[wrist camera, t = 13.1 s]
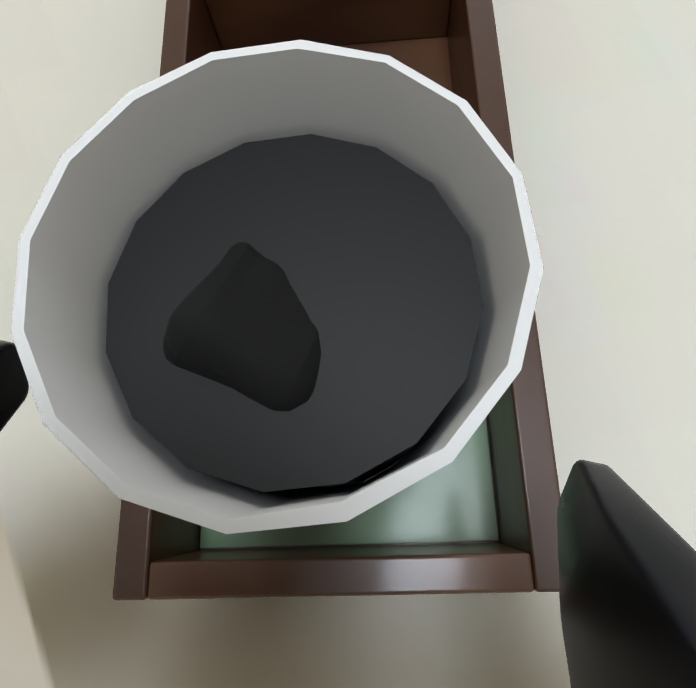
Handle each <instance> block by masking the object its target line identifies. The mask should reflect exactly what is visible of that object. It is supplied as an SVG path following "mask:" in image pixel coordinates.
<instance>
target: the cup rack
mask: <svg viewBox="0 0 696 688" xmlns="http://www.w3.org/2000/svg"><path fill="white" fill-rule="evenodd" d="M294 40H306V41H311V42H317V43H322V44H328V45H333V46H339V47H344V48H350V49H355V50H361V51H366V52H372V53H378V54H383V55H389V56H391V57H393V58H394V59H396V60H398V61H399V62H401V63H403V64H404V65H406V66H408V67H410V68H411V69H413V70H415V71H416V72H418V73H420V74H422V75H423V76H425V77H427V78H428V79H430V80H432V81H434V82H435V83H437V84H439V85H440V86H442V87H444V88H445V89H447V90H449V91H451V92H452V93H454V94H456V95H457V96H459V97H461V98H463V99H464V100H466V101H467V102H468V103H469V105H470V106H471V107H472V108H473V110H474V111H475V112H476V114H477V115H478V116H479V118H480V119H481V120H482V122H483V123H484V124H485V125H486V127H487V128H488V129H489V131H490V132H491V133H492V135H493V136H494V137H495V139H496V140H497V141H498V143H499V144H500V145H501V146H502V148H503V149H504V150H505V152H506V153H507V154H508V156H509V157H510V158H511V160H512V161H513V162H514V156H513V149H512V142H511V135H510V127H509V120H508V113H507V106H506V98H505V91H504V84H503V76H502V69H501V62H500V55H499V47H498V40H497V33H496V26H495V18H494V11H493V4H492V0H167V1H166V12H165V23H164V35H163V46H162V57H161V68H160V76H162V75H165V74H167V73H169V72H171V71H173V70H175V69H177V68H179V67H181V66H183V65H185V64H187V63H190V62H192V61H194V60H196V59H198V58H200V57H202V56H204V55H206V54H208V53H210V52H216V51H223V50H230V49H238V48H245V47H252V46H259V45H266V44H273V43H280V42H287V41H294ZM559 500H560V491H559V483H558V476H557V469H556V462H555V454H554V447H553V440H552V433H551V425H550V418H549V411H548V403H547V396H546V389H545V382H544V374H543V367H542V360H541V353H540V345H539V338H538V331H537V324H536V316H535V310H534V314H533V319H532V323H531V328H530V332H529V337H528V341H527V346H526V351H525V355H524V360H523V364H522V369H521V371H520V372H519V374H518V375H517V376H516V378H515V379H514V380H513V382H512V383H511V384H510V386H509V387H508V388H507V390H506V391H505V392H504V394H503V395H502V396H501V398H500V399H499V400H498V402H497V403H496V404H495V406H494V407H493V408H492V410H491V411H490V412H489V414H488V415H487V416H486V418H485V419H484V420H483V422H482V423H481V424H480V426H479V427H478V428H477V430H476V431H475V432H474V434H473V435H472V436H471V438H470V439H469V440H468V442H467V443H466V444H465V446H464V447H463V448H462V450H461V451H460V452H459V454H458V455H457V456H456V458H455V459H454V460H453V462H451V463H449V464H448V465H446V466H444V467H442V468H441V469H439V470H437V471H435V472H434V473H432V474H430V475H428V476H426V477H425V478H423V479H421V480H419V481H418V482H416V483H414V484H412V485H411V486H409V487H407V488H405V489H403V490H402V491H400V492H398V493H396V494H395V495H393V496H391V497H389V498H388V499H386V500H384V501H382V502H381V503H379V504H377V505H375V506H373V507H372V508H370V509H368V510H366V511H365V512H363V513H361V514H359V515H358V516H356V517H354V518H352V519H350V520H349V521H347V522H338V523H329V524H319V525H310V526H300V527H290V528H281V529H271V530H262V531H252V532H243V533H233V534H224V533H221V532H218V531H215V530H212V529H209V528H206V527H203V526H200V525H197V524H194V523H191V522H188V521H185V520H183V519H180V518H177V517H174V516H171V515H168V514H165V513H162V512H159V511H156V510H153V509H150V508H147V507H144V506H141V505H138V504H135V503H132V502H129V501H126V500H123V499H122V500H121V511H120V522H119V534H118V545H117V556H116V567H115V578H114V589H113V599H115V600H144V599H147V598H149V599H151V600H162V599H212V598H262V597H312V596H363V595H413V594H463V593H513V592H532V591H534V590H535V591H537V592H559V565H558V536H557V509H558V503H559Z"/></svg>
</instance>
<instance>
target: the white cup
mask: <svg viewBox="0 0 696 688" xmlns="http://www.w3.org/2000/svg"><path fill="white" fill-rule="evenodd" d="M543 268H544V267H543V263H542V258H541V254H540V250H539V245H538V241H537V236H536V232H535V228H534V223H533V219H532V214H531V210H530V206H529V201H528V197H527V193H526V188H525V184H524V179H523V175H522V173H521V171H520V170H519V169H518V167H517V166H516V165H515V164H514V162H513V161H512V160H511V158H510V157H509V156H508V154H507V153H506V152H505V150H504V149H503V148H502V146H501V145H500V144H499V143H498V141H497V140H496V139H495V137H494V136H493V135H492V133H491V132H490V131H489V129H488V128H487V127H486V125H485V124H484V123H483V122H482V120H481V119H480V118H479V116H478V115H477V114H476V112H475V111H474V110H473V108H472V107H471V106H470V105H469V103H468V102H467V101H466V100H464V99H463V98H461V97H459V96H457V95H456V94H454V93H452V92H451V91H449V90H447V89H445V88H444V87H442V86H440V85H439V84H437V83H435V82H434V81H432V80H430V79H428V78H427V77H425V76H423V75H422V74H420V73H418V72H416V71H415V70H413V69H411V68H410V67H408V66H406V65H404V64H403V63H401V62H399V61H398V60H396V59H394V58H393V57H391V56H389V55H383V54H378V53H372V52H366V51H361V50H355V49H350V48H344V47H339V46H333V45H328V44H322V43H317V42H311V41H306V40H294V41H287V42H280V43H273V44H266V45H259V46H252V47H245V48H238V49H230V50H223V51H216V52H210V53H208V54H206V55H204V56H202V57H200V58H198V59H196V60H194V61H192V62H190V63H187V64H185V65H183V66H181V67H179V68H177V69H175V70H173V71H171V72H169V73H167V74H165V75H162V76H160V77H158V78H156V79H154V80H152V81H150V82H148V83H146V84H144V85H142V86H140V87H137V88H135V89H133V90H131V91H129V92H128V93H127V94H126V95H124V96H123V97H122V98H121V99H120V100H119V101H118V102H117V103H116V104H115V105H114V106H113V107H112V108H111V109H110V110H109V111H108V112H107V113H106V114H105V115H103V116H102V117H101V118H100V119H99V120H98V121H97V122H96V123H95V124H94V125H93V126H92V127H91V128H90V129H89V130H88V131H87V132H86V133H85V134H84V135H82V136H81V137H80V138H79V139H78V140H77V141H76V142H75V143H74V144H73V145H72V146H71V147H70V148H69V149H68V150H67V151H66V152H65V153H64V154H63V155H61V157H60V159H59V161H58V163H57V165H56V167H55V169H54V171H53V173H52V175H51V177H50V179H49V181H48V183H47V185H46V187H45V189H44V191H43V193H42V195H41V197H40V199H39V201H38V202H37V204H36V206H35V208H34V210H33V212H32V214H31V216H30V218H29V220H28V222H27V224H26V226H25V228H24V230H23V232H22V234H21V236H20V238H19V246H18V257H17V268H16V280H15V291H14V302H13V313H12V325H11V335H12V337H13V340H14V343H15V346H16V349H17V352H18V354H19V357H20V360H21V363H22V366H23V368H24V371H25V374H26V377H27V380H28V383H29V385H30V388H31V391H32V394H33V397H34V400H35V402H36V405H37V408H38V411H39V414H40V417H41V419H42V422H43V425H44V426H45V427H46V428H47V429H48V430H49V431H50V432H51V433H52V434H53V435H54V436H55V437H56V438H57V439H58V440H59V441H61V442H62V443H63V444H64V445H65V446H66V447H67V448H68V449H69V450H70V451H71V452H72V453H73V454H74V455H75V456H76V457H77V458H78V459H79V460H80V461H81V462H82V463H83V464H84V465H85V466H86V467H87V468H88V469H89V470H90V471H91V472H92V473H93V474H94V475H95V476H96V477H97V478H98V479H99V480H100V481H101V482H102V483H103V484H105V485H106V486H107V487H108V488H109V489H110V490H111V491H112V492H113V493H114V494H115V495H116V496H117V497H118V498H120V499H123V500H126V501H129V502H132V503H135V504H138V505H141V506H144V507H147V508H150V509H153V510H156V511H159V512H162V513H165V514H168V515H171V516H174V517H177V518H180V519H183V520H185V521H188V522H191V523H194V524H197V525H200V526H203V527H206V528H209V529H212V530H215V531H218V532H221V533H224V534H233V533H243V532H252V531H262V530H271V529H281V528H290V527H300V526H310V525H319V524H329V523H338V522H347V521H349V520H350V519H352V518H354V517H356V516H358V515H359V514H361V513H363V512H365V511H366V510H368V509H370V508H372V507H373V506H375V505H377V504H379V503H381V502H382V501H384V500H386V499H388V498H389V497H391V496H393V495H395V494H396V493H398V492H400V491H402V490H403V489H405V488H407V487H409V486H411V485H412V484H414V483H416V482H418V481H419V480H421V479H423V478H425V477H426V476H428V475H430V474H432V473H434V472H435V471H437V470H439V469H441V468H442V467H444V466H446V465H448V464H449V463H451V462H453V460H454V459H455V458H456V456H457V455H458V454H459V452H460V451H461V450H462V448H463V447H464V446H465V444H466V443H467V442H468V440H469V439H470V438H471V436H472V435H473V434H474V432H475V431H476V430H477V428H478V427H479V426H480V424H481V423H482V422H483V420H484V419H485V418H486V416H487V415H488V414H489V412H490V411H491V410H492V408H493V407H494V406H495V404H496V403H497V402H498V400H499V399H500V398H501V396H502V395H503V394H504V392H505V391H506V390H507V388H508V387H509V386H510V384H511V383H512V382H513V380H514V379H515V378H516V376H517V375H518V374H519V372H520V371H521V369H522V364H523V360H524V355H525V351H526V346H527V341H528V337H529V332H530V328H531V323H532V319H533V314H534V310H535V305H536V300H537V296H538V291H539V287H540V282H541V278H542V273H543Z"/></svg>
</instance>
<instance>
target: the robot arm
mask: <svg viewBox="0 0 696 688" xmlns="http://www.w3.org/2000/svg"><path fill="white" fill-rule="evenodd" d="M28 390H29V384H28V380H27V377H26V374H25V371H24V368H23V366H22V363H21V360H20V357H19V354H18V352H17V349H16V346H15V344H14V343H11V342H6V341H1V340H0V431H1V430H2V429H3V427H4V426H5V425H6V424H7V422H8V421H9V420H10V418H11V417H12V416H13V414H14V413H15V412H16V411H17V409H18V408H19V407H20V405H21V404H22V403H23V402H24V400H25V399H26V396H27V394H28ZM557 536H558V565H559V594H560V613H561V622H562V630H563V637H564V643H565V650H566V656H567V663H568V670H569V676H570V683H571V688H696V551H695V550H694V549H693V548H692V547H691V546H690V545H689V544H688V543H687V542H686V541H685V540H684V539H683V538H682V537H681V536H680V535H679V534H678V533H677V532H676V531H675V530H674V529H673V528H672V527H671V526H669V525H668V524H667V523H666V522H665V521H664V520H663V519H662V518H661V517H660V516H659V515H658V514H657V513H656V512H655V511H654V510H653V509H652V508H651V507H650V506H649V505H648V504H647V503H646V502H645V501H644V500H643V499H642V498H641V497H640V496H639V495H638V494H637V493H636V492H635V491H634V490H633V489H631V488H630V487H629V486H628V485H627V484H626V483H625V482H624V481H623V480H622V479H621V478H620V477H619V476H618V475H617V474H616V473H615V472H614V471H613V470H612V469H611V468H610V467H608V466H607V465H605V464H600V463H595V462H590V461H585V460H579V461H577V462H576V463H575V464H574V465H573V467H572V470H571V472H570V475H569V477H568V480H567V482H566V485H565V487H564V490H563V492H562V495H561V497H560V500H559V503H558V509H557Z"/></svg>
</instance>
